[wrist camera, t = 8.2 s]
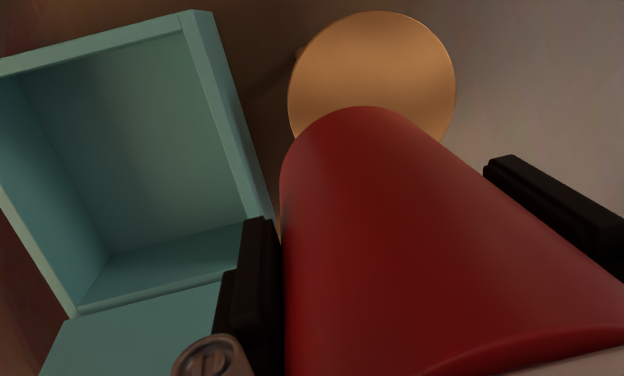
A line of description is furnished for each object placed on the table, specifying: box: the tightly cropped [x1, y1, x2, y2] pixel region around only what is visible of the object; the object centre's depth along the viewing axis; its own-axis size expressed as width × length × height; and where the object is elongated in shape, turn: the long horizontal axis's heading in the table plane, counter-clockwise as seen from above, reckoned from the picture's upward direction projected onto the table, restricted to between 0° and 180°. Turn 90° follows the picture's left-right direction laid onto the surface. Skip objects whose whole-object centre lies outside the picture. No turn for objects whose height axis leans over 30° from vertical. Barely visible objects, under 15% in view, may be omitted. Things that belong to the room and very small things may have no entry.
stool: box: [287, 11, 456, 143], centre depth 29 cm, size 11×11×8 cm
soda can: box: [279, 106, 624, 376], centre depth 10 cm, size 6×6×11 cm
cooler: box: [0, 9, 276, 319], centre depth 29 cm, size 18×16×8 cm
